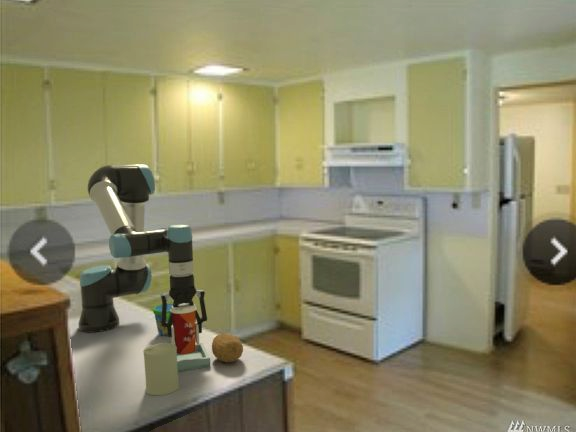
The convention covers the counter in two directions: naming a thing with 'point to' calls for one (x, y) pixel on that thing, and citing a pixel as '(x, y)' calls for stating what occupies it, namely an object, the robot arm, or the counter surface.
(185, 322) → the coffee cup
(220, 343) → the potato
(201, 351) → the tray
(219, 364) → the counter surface
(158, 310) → the snack cup
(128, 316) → the counter surface
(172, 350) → the can
